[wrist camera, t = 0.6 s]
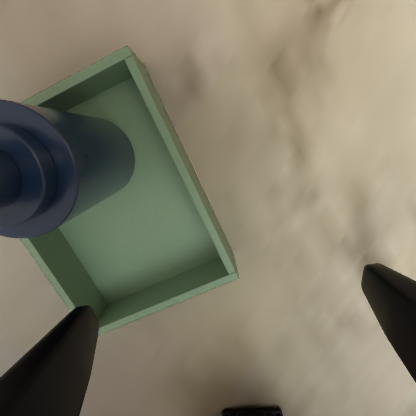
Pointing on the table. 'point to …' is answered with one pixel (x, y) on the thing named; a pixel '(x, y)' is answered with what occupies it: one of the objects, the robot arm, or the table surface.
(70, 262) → the bin
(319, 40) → the table surface
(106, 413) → the table surface
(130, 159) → the bottle
